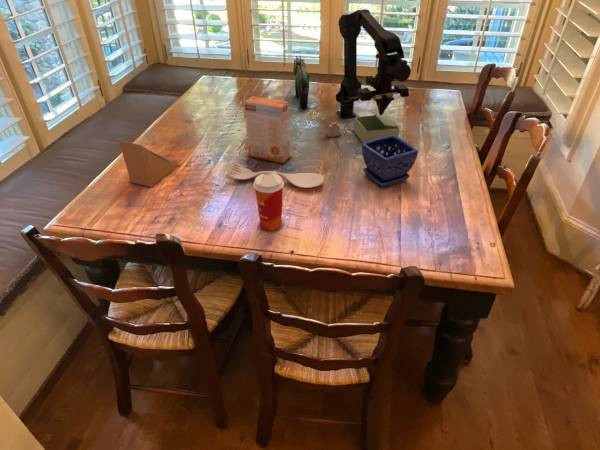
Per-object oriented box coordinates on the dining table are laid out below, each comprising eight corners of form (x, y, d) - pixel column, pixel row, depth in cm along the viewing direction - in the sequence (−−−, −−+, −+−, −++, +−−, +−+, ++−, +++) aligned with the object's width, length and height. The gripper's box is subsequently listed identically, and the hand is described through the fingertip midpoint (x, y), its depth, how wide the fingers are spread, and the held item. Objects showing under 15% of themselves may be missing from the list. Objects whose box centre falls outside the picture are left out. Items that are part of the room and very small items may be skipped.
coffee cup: (256, 216, 128) (252, 172, 119) (284, 215, 129) (283, 171, 120) (256, 234, 122) (252, 189, 112) (286, 232, 122) (284, 187, 113)
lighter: (338, 134, 172) (339, 114, 167) (339, 135, 171) (340, 116, 166) (320, 135, 171) (321, 116, 166) (321, 137, 169) (322, 118, 165)
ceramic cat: (292, 94, 206) (292, 50, 194) (306, 93, 207) (306, 50, 195) (297, 110, 191) (296, 64, 179) (311, 110, 191) (312, 63, 179)
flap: (370, 111, 171) (371, 110, 170) (385, 113, 173) (385, 112, 172) (384, 125, 160) (384, 124, 160) (399, 127, 162) (399, 126, 162)
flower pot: (381, 192, 138) (385, 159, 131) (357, 173, 148) (360, 141, 140) (414, 182, 143) (420, 149, 136) (389, 164, 152) (393, 133, 145)
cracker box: (290, 157, 157) (289, 101, 144) (283, 164, 153) (281, 107, 140) (256, 149, 162) (252, 94, 149) (248, 156, 158) (243, 100, 145)
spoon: (233, 170, 150) (232, 161, 148) (325, 178, 145) (326, 169, 143) (225, 183, 143) (224, 174, 141) (321, 193, 138) (321, 184, 136)
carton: (353, 131, 174) (354, 117, 171) (383, 127, 176) (385, 113, 173) (365, 146, 163) (367, 132, 160) (397, 142, 166) (399, 128, 162)
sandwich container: (179, 165, 153) (171, 125, 144) (151, 187, 141) (141, 145, 132) (158, 161, 155) (149, 121, 146) (130, 181, 144) (118, 140, 135)
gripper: (400, 64, 163) (394, 104, 173) (353, 68, 160) (350, 109, 169) (413, 73, 155) (406, 115, 164) (363, 78, 151) (360, 120, 161)
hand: (380, 114), depth 165 cm, fingers closed
